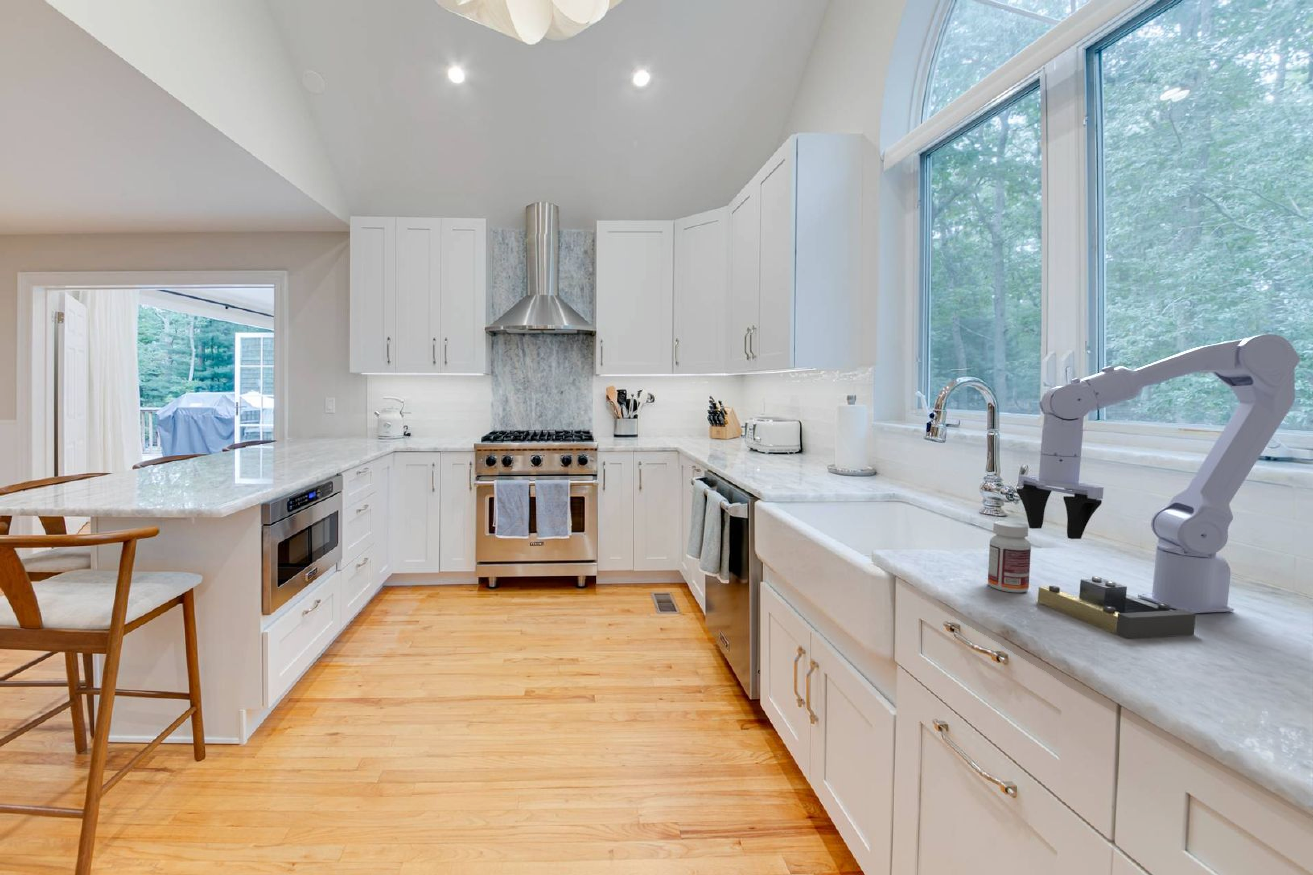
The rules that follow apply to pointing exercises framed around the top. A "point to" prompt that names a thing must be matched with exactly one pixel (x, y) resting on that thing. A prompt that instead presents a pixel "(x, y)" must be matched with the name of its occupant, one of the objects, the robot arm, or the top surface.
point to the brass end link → (1079, 608)
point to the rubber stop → (1155, 624)
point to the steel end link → (1143, 605)
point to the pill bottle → (1009, 557)
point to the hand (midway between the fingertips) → (1054, 533)
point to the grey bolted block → (1103, 593)
